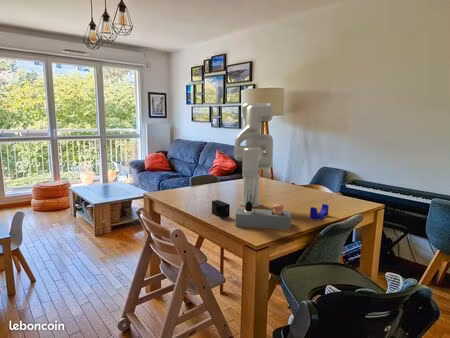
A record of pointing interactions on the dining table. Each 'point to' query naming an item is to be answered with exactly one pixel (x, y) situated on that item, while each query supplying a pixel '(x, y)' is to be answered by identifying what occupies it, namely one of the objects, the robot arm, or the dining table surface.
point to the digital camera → (220, 208)
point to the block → (263, 219)
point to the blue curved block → (321, 214)
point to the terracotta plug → (277, 209)
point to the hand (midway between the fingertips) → (248, 210)
